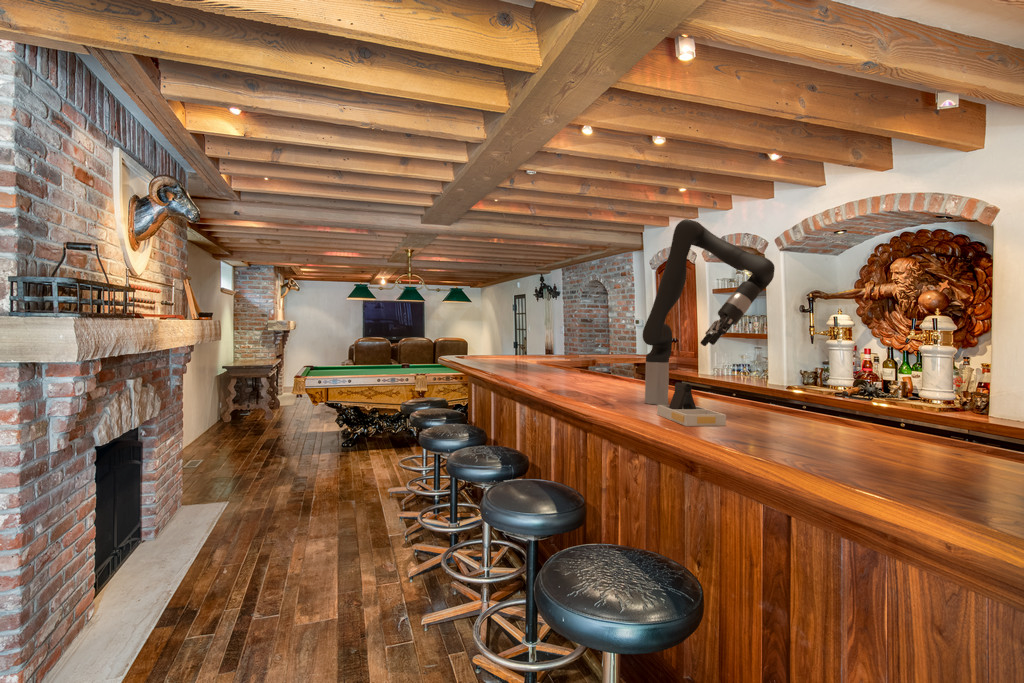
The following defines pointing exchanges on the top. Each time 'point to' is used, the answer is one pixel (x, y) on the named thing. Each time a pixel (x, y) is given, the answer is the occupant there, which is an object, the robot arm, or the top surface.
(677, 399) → the door stopper
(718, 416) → the tray
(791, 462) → the top surface
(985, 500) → the top surface
